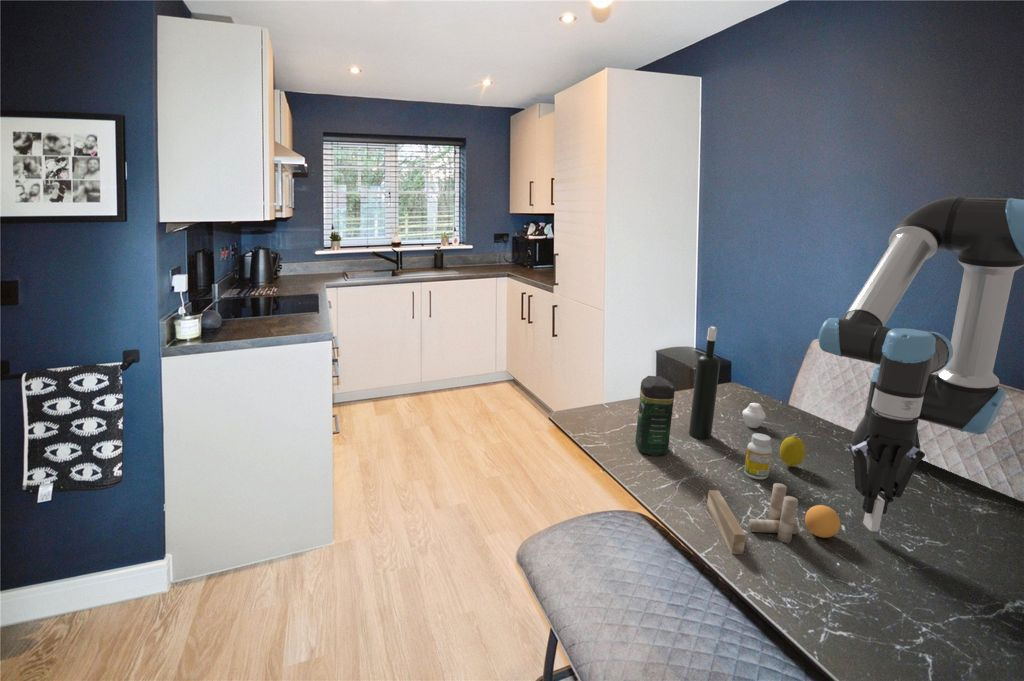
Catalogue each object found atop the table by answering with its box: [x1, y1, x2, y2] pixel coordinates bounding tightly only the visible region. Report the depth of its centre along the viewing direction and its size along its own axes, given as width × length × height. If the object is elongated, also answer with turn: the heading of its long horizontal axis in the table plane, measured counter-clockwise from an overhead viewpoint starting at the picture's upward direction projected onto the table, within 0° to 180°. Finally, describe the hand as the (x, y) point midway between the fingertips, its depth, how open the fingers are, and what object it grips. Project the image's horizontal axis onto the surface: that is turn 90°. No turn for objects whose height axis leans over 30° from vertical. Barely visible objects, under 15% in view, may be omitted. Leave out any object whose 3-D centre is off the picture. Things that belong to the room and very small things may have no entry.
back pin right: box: [767, 482, 788, 520], centre depth 116 cm, size 2×2×8 cm
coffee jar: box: [634, 375, 676, 456], centre depth 147 cm, size 10×8×19 cm
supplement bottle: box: [743, 432, 773, 480], centre depth 136 cm, size 5×5×10 cm
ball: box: [804, 504, 841, 539], centre depth 113 cm, size 6×6×6 cm
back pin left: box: [776, 495, 799, 544], centre depth 111 cm, size 2×2×8 cm
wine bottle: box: [688, 325, 721, 440], centre depth 155 cm, size 6×6×30 cm
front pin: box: [748, 518, 799, 535], centre depth 114 cm, size 2×2×8 cm
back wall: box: [706, 489, 747, 555], centre depth 114 cm, size 2×16×4 cm, turn 178°
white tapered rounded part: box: [741, 402, 767, 429], centre depth 165 cm, size 6×6×7 cm
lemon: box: [779, 435, 806, 467], centre depth 141 cm, size 6×6×8 cm
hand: (870, 527), depth 114 cm, fingers closed
